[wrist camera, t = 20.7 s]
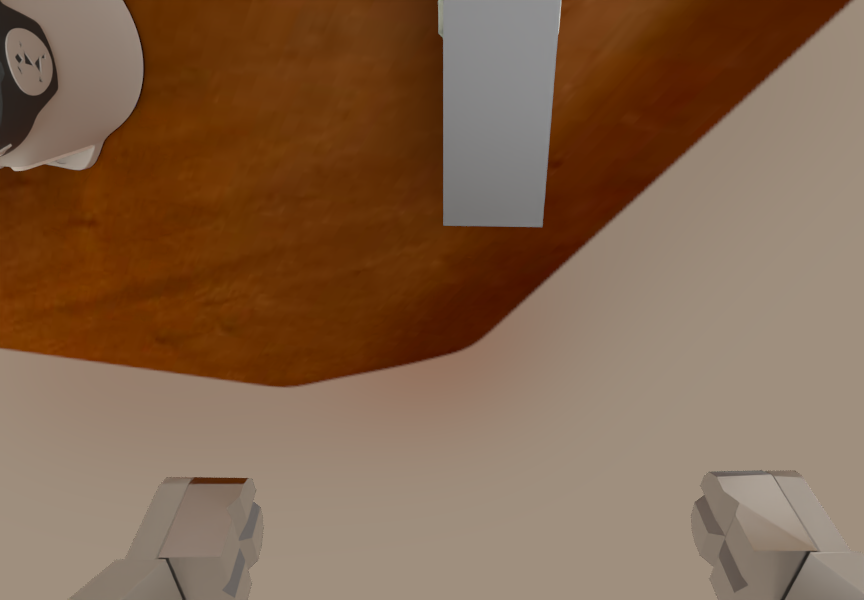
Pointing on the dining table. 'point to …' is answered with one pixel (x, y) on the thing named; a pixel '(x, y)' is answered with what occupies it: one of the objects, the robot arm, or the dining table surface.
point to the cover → (497, 110)
